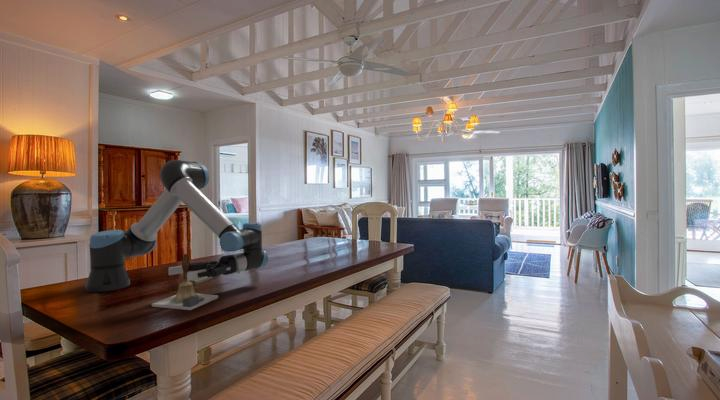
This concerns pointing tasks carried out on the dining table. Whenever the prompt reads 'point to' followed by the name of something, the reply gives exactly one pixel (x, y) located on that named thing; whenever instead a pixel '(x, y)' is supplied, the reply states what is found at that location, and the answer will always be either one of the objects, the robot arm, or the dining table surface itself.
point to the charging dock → (180, 306)
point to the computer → (200, 280)
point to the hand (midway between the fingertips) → (177, 274)
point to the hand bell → (185, 283)
